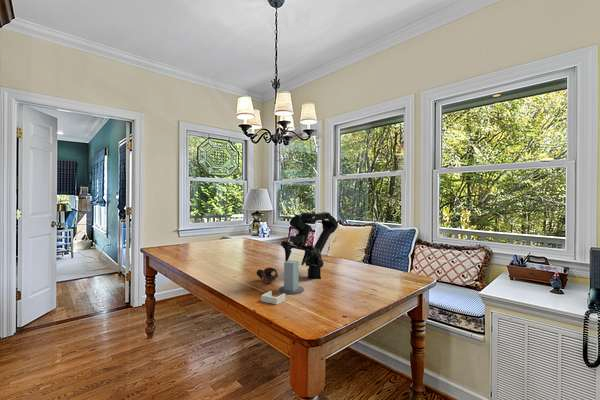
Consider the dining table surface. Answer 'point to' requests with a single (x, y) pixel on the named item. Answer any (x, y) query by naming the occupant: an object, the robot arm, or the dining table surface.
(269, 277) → the pottery mug
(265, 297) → the acrylic channel
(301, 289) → the rubber mat
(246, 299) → the dining table surface
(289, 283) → the painted block
